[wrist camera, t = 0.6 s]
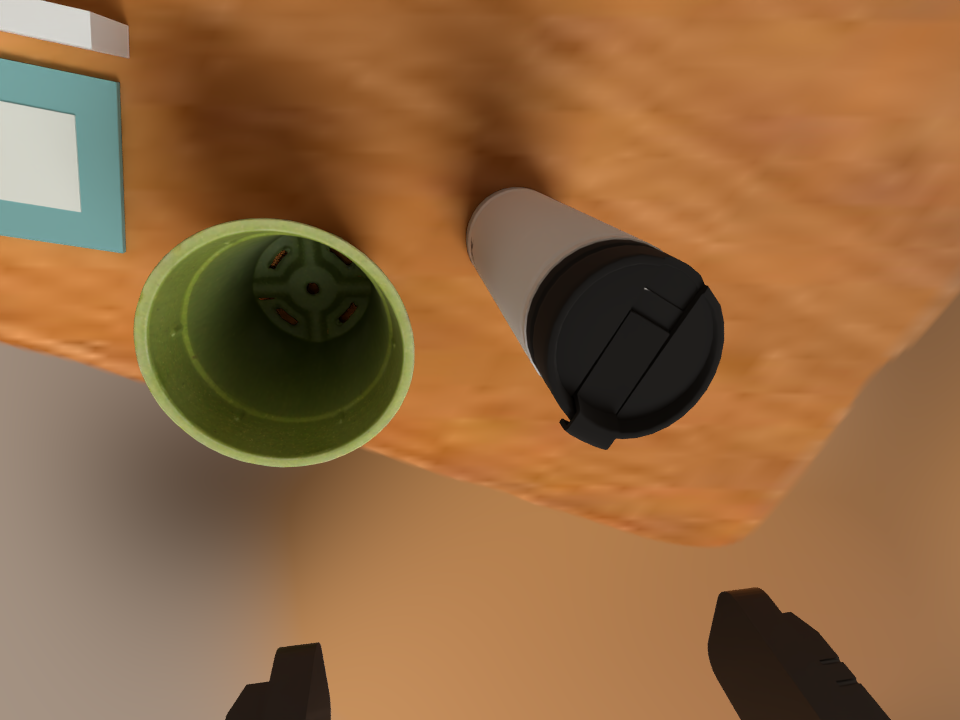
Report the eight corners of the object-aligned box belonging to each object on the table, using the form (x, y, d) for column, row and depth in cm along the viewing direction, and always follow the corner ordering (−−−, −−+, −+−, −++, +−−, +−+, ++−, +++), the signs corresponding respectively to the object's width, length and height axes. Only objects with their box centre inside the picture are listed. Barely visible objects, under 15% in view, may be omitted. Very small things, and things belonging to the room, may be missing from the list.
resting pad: (-134, 30, 27) (-143, 29, 26) (119, 82, 29) (115, 82, 29) (-100, 218, 30) (-107, 220, 29) (126, 251, 32) (121, 253, 32)
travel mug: (444, 260, 35) (504, 407, 17) (499, 166, 34) (629, 218, 15) (525, 306, 37) (655, 480, 19) (580, 219, 36) (780, 320, 17)
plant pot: (223, 162, 31) (143, 181, 21) (427, 219, 34) (444, 261, 24) (199, 351, 35) (121, 445, 25) (383, 388, 38) (381, 486, 28)
